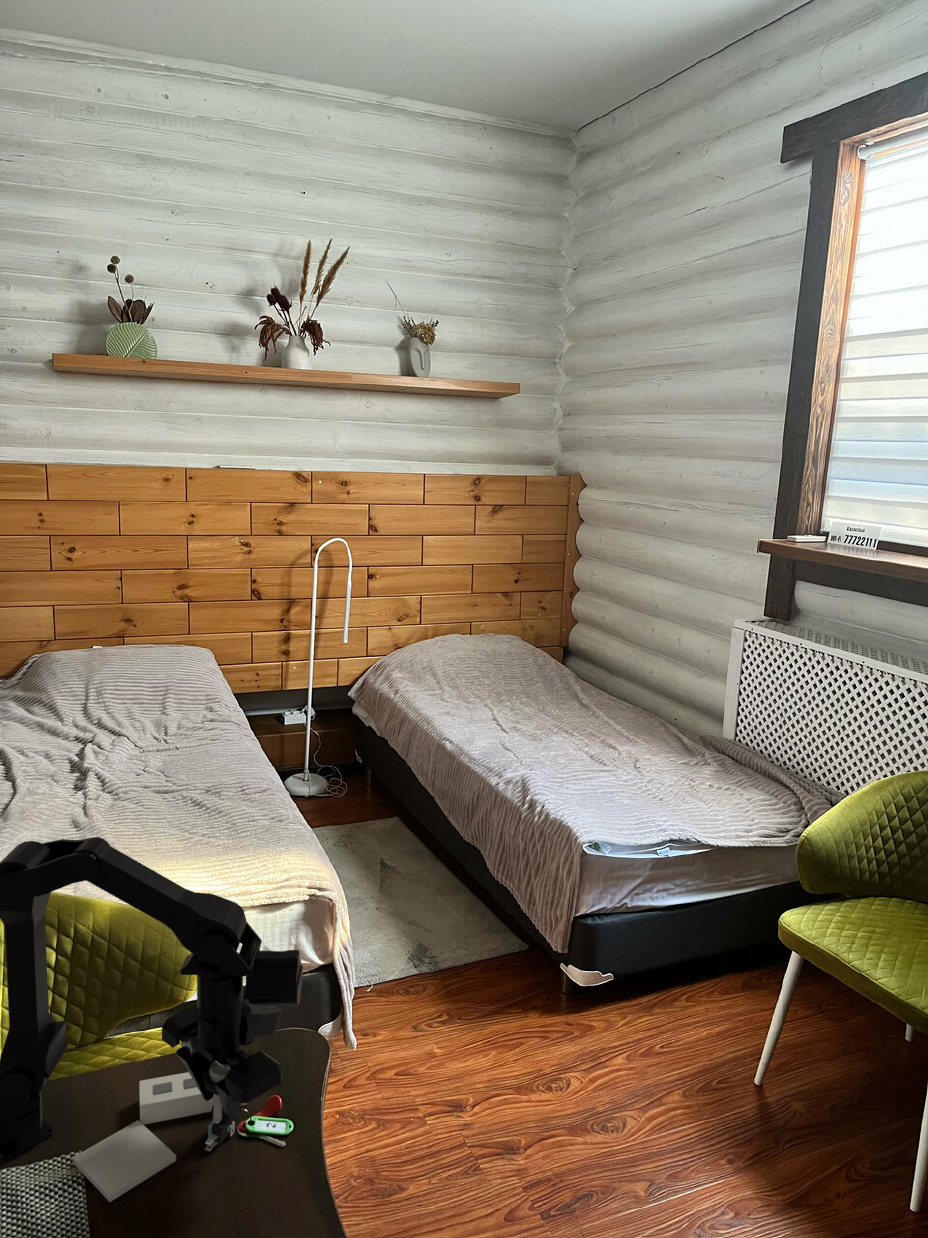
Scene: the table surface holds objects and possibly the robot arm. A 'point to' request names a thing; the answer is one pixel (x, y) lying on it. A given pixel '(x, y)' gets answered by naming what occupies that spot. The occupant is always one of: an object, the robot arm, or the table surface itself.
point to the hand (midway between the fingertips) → (220, 1108)
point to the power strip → (171, 1098)
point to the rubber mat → (124, 1160)
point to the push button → (218, 1107)
